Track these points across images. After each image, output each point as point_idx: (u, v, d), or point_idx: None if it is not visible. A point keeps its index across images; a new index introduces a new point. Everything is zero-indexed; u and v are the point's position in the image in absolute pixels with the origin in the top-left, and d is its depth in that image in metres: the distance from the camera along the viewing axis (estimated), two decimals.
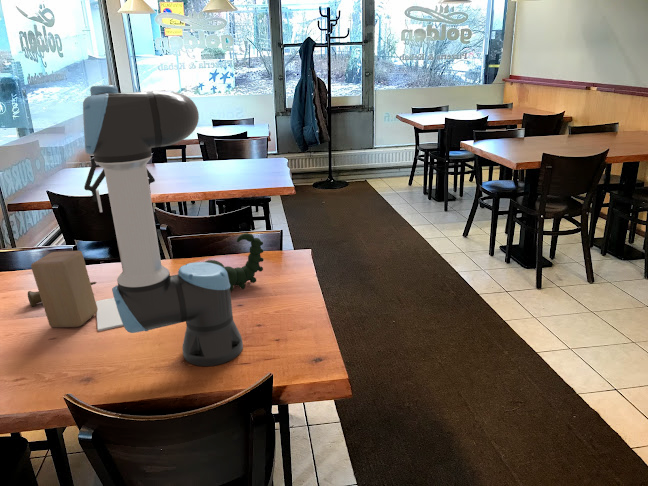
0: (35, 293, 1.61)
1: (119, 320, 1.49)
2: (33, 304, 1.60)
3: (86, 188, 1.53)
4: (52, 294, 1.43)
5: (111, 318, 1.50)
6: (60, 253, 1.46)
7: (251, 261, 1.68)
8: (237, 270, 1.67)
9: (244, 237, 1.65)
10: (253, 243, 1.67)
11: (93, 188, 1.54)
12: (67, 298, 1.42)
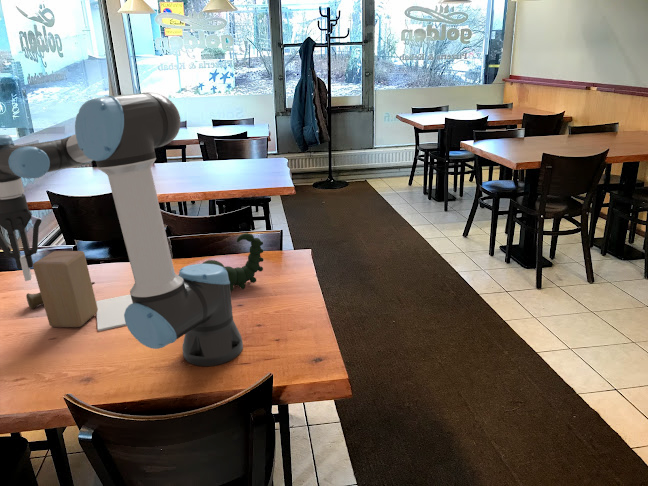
0: (34, 295, 1.59)
1: (119, 320, 1.49)
2: (33, 306, 1.58)
3: (8, 255, 1.37)
4: (54, 294, 1.42)
5: (111, 318, 1.50)
6: (62, 253, 1.46)
7: (251, 261, 1.68)
8: (237, 270, 1.67)
9: (244, 237, 1.65)
10: (253, 242, 1.67)
11: (15, 255, 1.38)
12: (68, 298, 1.42)
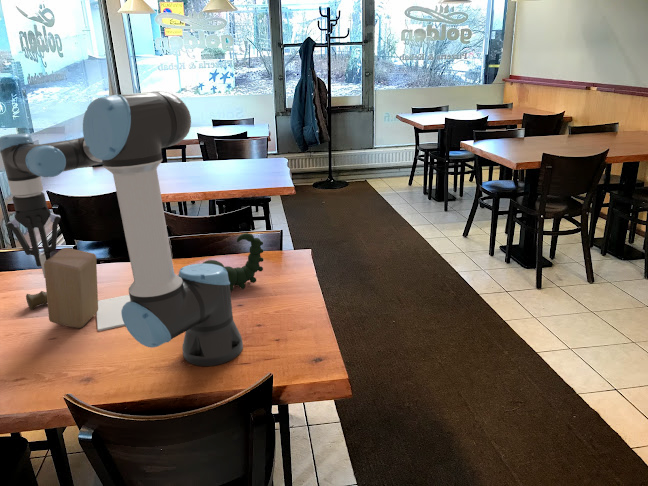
0: (34, 296, 1.59)
1: (119, 320, 1.49)
2: (33, 307, 1.58)
3: (28, 253, 1.39)
4: (60, 294, 1.41)
5: (111, 318, 1.50)
6: (74, 253, 1.44)
7: (251, 261, 1.68)
8: (237, 270, 1.67)
9: (244, 237, 1.65)
10: (253, 242, 1.67)
11: (35, 253, 1.40)
12: (75, 301, 1.42)
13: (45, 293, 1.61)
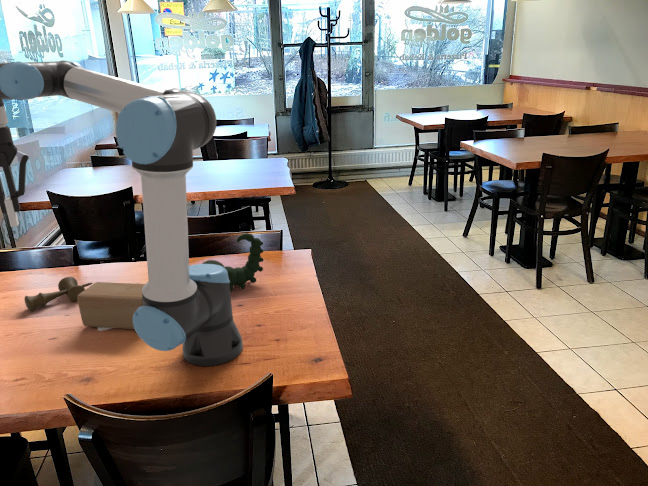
0: (33, 297, 1.58)
1: None
2: (32, 309, 1.57)
3: None
4: (113, 312, 1.42)
5: None
6: None
7: (251, 261, 1.68)
8: (237, 270, 1.67)
9: (244, 237, 1.65)
10: (253, 243, 1.67)
11: None
12: (111, 325, 1.44)
13: (44, 294, 1.60)
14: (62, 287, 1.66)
